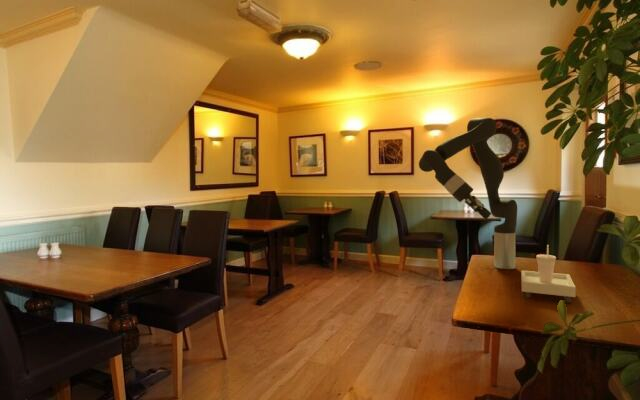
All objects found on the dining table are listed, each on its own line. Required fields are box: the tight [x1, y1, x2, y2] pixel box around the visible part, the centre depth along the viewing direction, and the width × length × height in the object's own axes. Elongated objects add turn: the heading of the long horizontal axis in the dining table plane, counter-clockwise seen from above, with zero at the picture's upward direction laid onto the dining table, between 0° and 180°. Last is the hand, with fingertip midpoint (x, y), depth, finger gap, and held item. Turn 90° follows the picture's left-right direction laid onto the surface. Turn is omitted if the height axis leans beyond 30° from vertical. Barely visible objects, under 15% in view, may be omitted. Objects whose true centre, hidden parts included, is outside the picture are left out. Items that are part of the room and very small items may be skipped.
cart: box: [520, 270, 577, 304], centre depth 137 cm, size 18×16×6 cm
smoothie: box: [535, 244, 557, 283], centre depth 137 cm, size 6×6×14 cm
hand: (488, 216), depth 147 cm, fingers open, 8 cm apart
